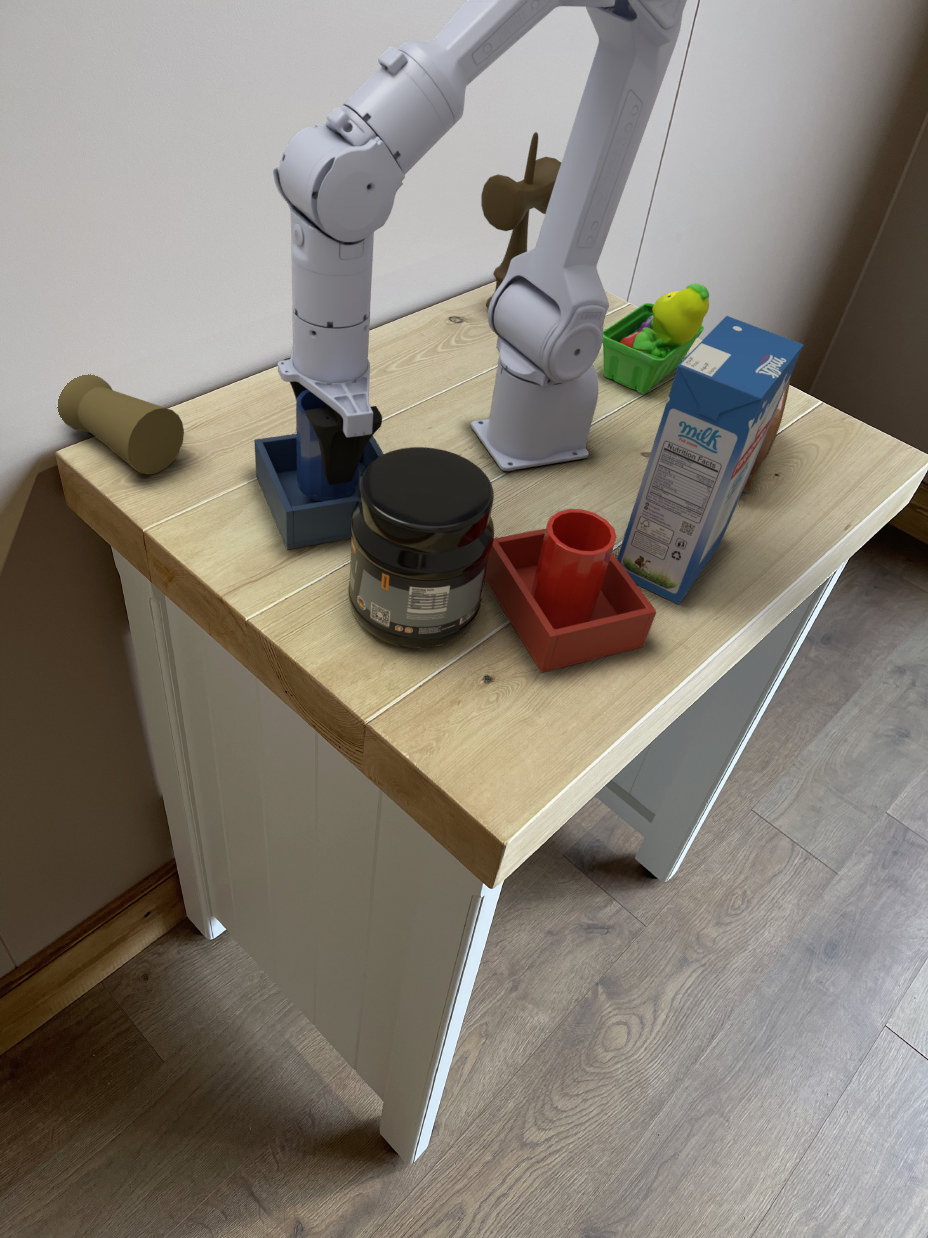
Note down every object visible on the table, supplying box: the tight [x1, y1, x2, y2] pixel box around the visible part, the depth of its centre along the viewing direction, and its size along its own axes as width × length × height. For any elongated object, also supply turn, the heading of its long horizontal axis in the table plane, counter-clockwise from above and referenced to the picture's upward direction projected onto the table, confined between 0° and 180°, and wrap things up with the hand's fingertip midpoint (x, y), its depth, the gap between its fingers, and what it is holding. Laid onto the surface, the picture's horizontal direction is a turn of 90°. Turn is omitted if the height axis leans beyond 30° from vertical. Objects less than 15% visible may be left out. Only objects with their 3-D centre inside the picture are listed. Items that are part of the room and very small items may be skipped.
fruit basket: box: [602, 283, 710, 395], centre depth 99 cm, size 11×9×11 cm
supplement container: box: [347, 446, 495, 649], centre depth 69 cm, size 10×10×12 cm
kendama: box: [480, 131, 562, 311], centre depth 102 cm, size 6×10×20 cm, turn 139°
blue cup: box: [295, 389, 360, 502], centre depth 76 cm, size 5×5×8 cm
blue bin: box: [253, 433, 384, 550], centre depth 79 cm, size 10×10×4 cm
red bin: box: [484, 527, 657, 673], centre depth 73 cm, size 9×11×4 cm
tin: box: [742, 380, 791, 493], centre depth 90 cm, size 15×3×8 cm, turn 159°
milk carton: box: [616, 315, 804, 606], centre depth 74 cm, size 10×6×20 cm, turn 148°
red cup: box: [531, 508, 617, 629], centre depth 71 cm, size 5×5×8 cm
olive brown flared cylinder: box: [56, 373, 185, 475], centre depth 81 cm, size 6×6×11 cm
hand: (328, 459), depth 78 cm, fingers closed on blue cup, 5 cm apart
